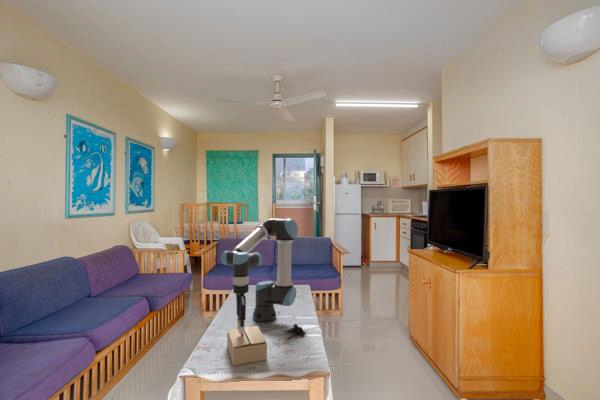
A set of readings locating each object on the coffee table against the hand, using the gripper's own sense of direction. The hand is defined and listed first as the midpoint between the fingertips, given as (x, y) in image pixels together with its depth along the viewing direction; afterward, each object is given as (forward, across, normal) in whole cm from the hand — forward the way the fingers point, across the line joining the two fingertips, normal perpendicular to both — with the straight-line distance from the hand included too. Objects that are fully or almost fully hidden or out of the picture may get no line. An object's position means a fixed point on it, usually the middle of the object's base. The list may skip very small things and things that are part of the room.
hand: (240, 331), depth 153 cm
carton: (+12, 0, +3) cm, 12 cm away
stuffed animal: (+13, -11, +33) cm, 37 cm away
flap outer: (+3, 0, -1) cm, 3 cm away
